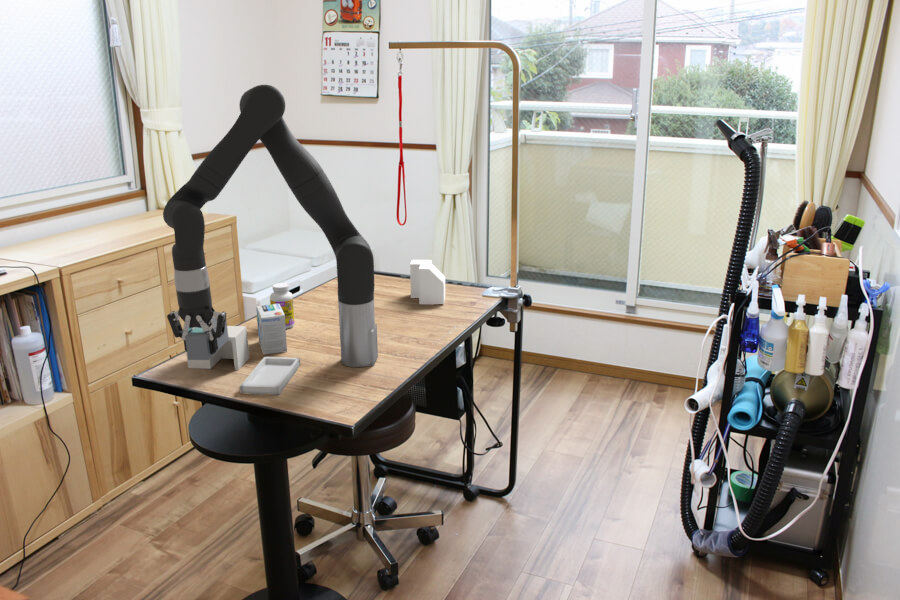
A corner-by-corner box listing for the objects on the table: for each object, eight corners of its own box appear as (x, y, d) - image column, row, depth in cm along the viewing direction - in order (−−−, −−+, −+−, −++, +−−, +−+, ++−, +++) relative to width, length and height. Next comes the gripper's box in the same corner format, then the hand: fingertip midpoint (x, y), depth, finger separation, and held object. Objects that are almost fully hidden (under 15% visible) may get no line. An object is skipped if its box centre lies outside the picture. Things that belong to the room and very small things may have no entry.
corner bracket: (412, 293, 252) (411, 259, 248) (445, 294, 251) (445, 260, 247) (409, 304, 242) (408, 268, 238) (443, 304, 241) (443, 269, 237)
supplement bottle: (274, 331, 218) (271, 289, 214) (270, 324, 224) (266, 283, 220) (297, 328, 221) (294, 286, 217) (292, 320, 227) (289, 280, 223)
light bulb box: (258, 341, 211) (255, 305, 207) (282, 338, 213) (279, 302, 210) (263, 355, 201) (259, 317, 198) (288, 351, 204) (285, 314, 200)
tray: (300, 364, 195) (299, 357, 194) (279, 395, 178) (278, 387, 177) (265, 363, 196) (264, 356, 195) (240, 393, 179) (239, 385, 178)
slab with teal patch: (228, 339, 188) (225, 316, 186) (208, 360, 176) (205, 335, 174) (209, 339, 189) (206, 316, 187) (188, 359, 176) (184, 335, 174)
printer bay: (249, 357, 200) (246, 325, 197) (238, 369, 192) (235, 336, 189) (200, 356, 201) (197, 324, 198) (188, 367, 193) (184, 334, 190)
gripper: (228, 281, 176) (236, 347, 181) (170, 280, 177) (179, 346, 182) (216, 290, 169) (225, 359, 174) (155, 290, 170) (166, 358, 175)
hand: (202, 352), depth 178 cm, fingers closed on slab with teal patch, 5 cm apart
